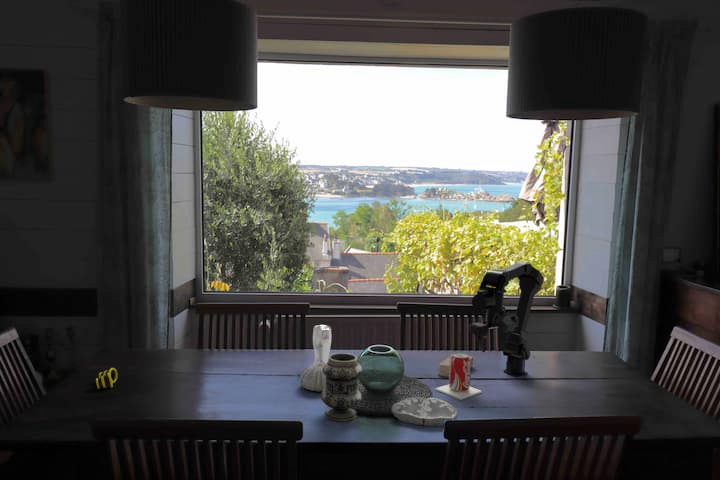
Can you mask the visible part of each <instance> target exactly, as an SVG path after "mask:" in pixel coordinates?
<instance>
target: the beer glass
mask: <svg viewBox="0 0 720 480" xmlns="http://www.w3.org/2000/svg"><path fill="white" fill-rule="evenodd" d="M312 331H313V332H312V345H313V350H314V351H313V352H314V362H313V364H317V363H318V364H325V363H327V362H328V358H329V356H330V351H331V345H332V327H331V326H329V325H327V324H326V325H325V324H319V325H314V327H313V330H312Z"/></svg>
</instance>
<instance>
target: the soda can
mask: <svg viewBox="0 0 720 480" xmlns="http://www.w3.org/2000/svg"><path fill="white" fill-rule="evenodd" d="M451 355H452V357H451V358H450V368H449V377H448V384H449V387H450V388H451V389H452V390H453V391H456V392H465V391H466V390H468V389H469V387H471V386H470V385H471V374H472V373H471V369H472V367H471V360H470V358H469V356H470V355H469V353H466V352H460V351H459V352H453V353H452V354H451Z"/></svg>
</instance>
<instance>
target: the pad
mask: <svg viewBox="0 0 720 480" xmlns="http://www.w3.org/2000/svg"><path fill="white" fill-rule="evenodd" d="M434 390H435V391H437V392H440V393H442V394H445V395H446V396H447V395H448V396H450V397H452V398H455V399H458V400H460V401H461V400H464V399H467V398H470V397H472V396H476V395H479V394H482V393H483V391H482V390H480V389H478V388H475V387H472V386H470V387H469V389H468V390H466V391H465V392H456V391H453V390H452V389H451V388H450V387H449V383H448V384H444V385H442V386H437V387H436V388H435V389H434Z"/></svg>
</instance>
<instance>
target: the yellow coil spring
mask: <svg viewBox="0 0 720 480" xmlns="http://www.w3.org/2000/svg"><path fill="white" fill-rule="evenodd" d="M117 379H118V371H117V369H116V368H115V367H111V368H110V369H108V370H104V371H101V372H99V373H98V378H97V377H96V379H95V383H96V387H97V389H98V390H100V389H107V388H113V387H114V385H113V384H114V383H116V381H117Z"/></svg>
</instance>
